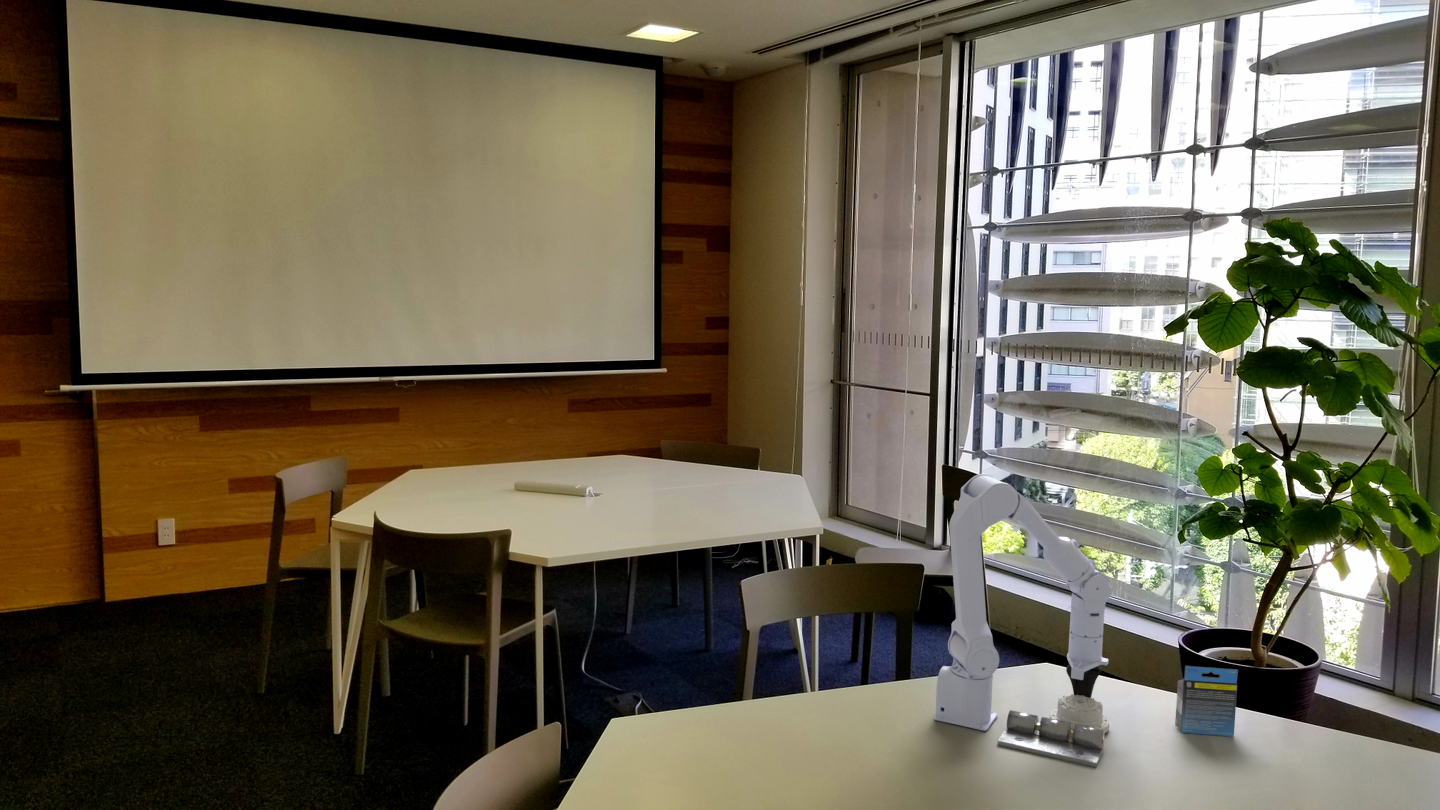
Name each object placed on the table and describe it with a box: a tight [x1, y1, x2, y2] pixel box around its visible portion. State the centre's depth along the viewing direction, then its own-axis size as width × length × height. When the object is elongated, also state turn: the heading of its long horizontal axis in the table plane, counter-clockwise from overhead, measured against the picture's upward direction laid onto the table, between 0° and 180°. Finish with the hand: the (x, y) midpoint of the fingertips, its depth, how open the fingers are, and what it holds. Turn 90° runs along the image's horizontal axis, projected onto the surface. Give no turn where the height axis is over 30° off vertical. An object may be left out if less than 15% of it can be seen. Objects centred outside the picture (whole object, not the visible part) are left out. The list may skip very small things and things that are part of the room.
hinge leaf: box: [997, 709, 1106, 768], centre depth 175 cm, size 16×9×4 cm, turn 60°
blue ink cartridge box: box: [1174, 665, 1239, 738], centre depth 181 cm, size 9×4×12 cm, turn 80°
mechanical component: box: [1049, 694, 1110, 734], centre depth 183 cm, size 10×4×10 cm
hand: (1082, 705), depth 188 cm, fingers closed
